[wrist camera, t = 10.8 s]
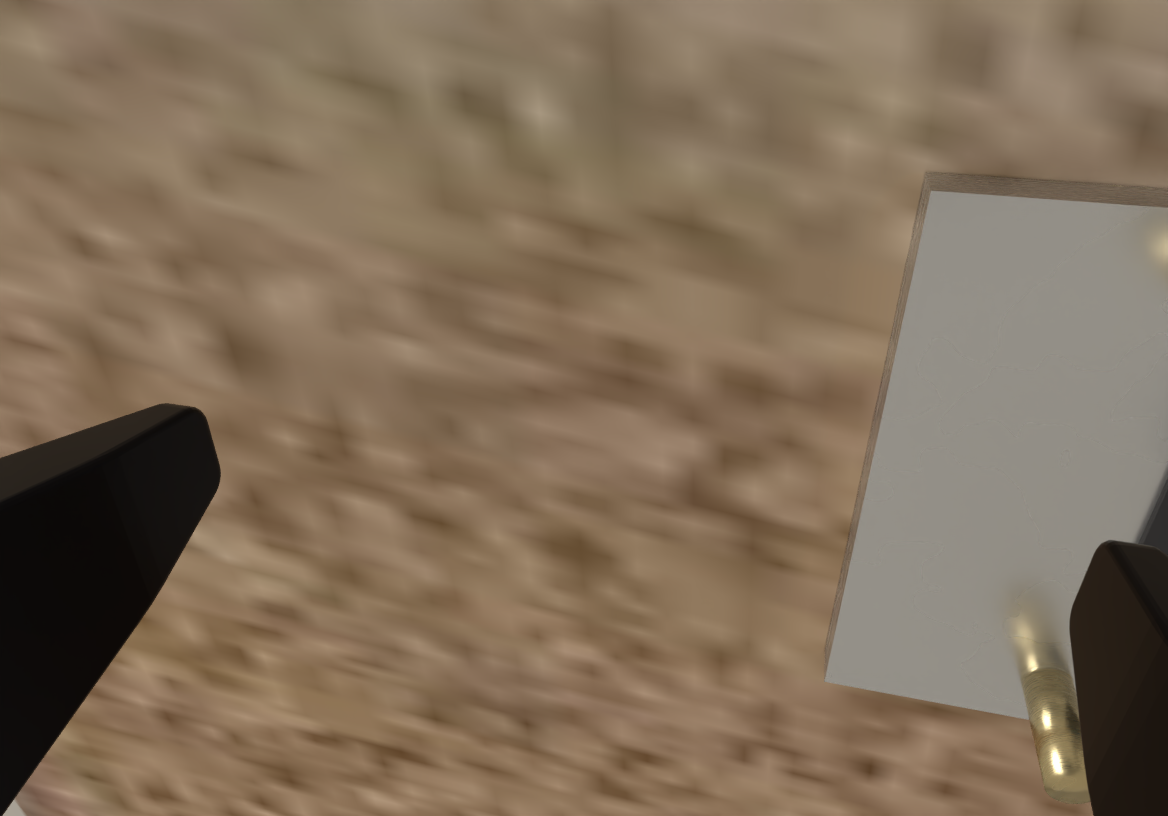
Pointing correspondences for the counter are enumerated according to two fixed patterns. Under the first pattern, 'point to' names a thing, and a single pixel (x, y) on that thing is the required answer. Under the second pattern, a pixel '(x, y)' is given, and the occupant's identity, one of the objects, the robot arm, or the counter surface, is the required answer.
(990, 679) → the chassis plate
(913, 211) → the counter surface
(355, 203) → the counter surface
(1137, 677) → the robot arm
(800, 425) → the counter surface
